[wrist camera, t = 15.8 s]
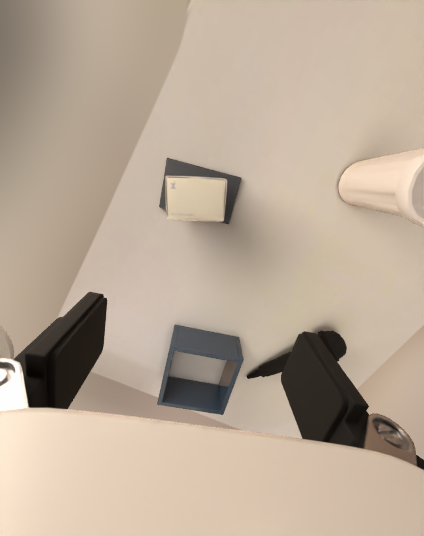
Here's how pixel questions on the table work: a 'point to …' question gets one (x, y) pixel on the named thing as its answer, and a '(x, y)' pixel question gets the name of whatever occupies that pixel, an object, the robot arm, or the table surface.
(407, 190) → the cup
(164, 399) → the open box
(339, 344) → the microphone
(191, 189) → the cosmetic box
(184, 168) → the mat
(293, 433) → the table surface
